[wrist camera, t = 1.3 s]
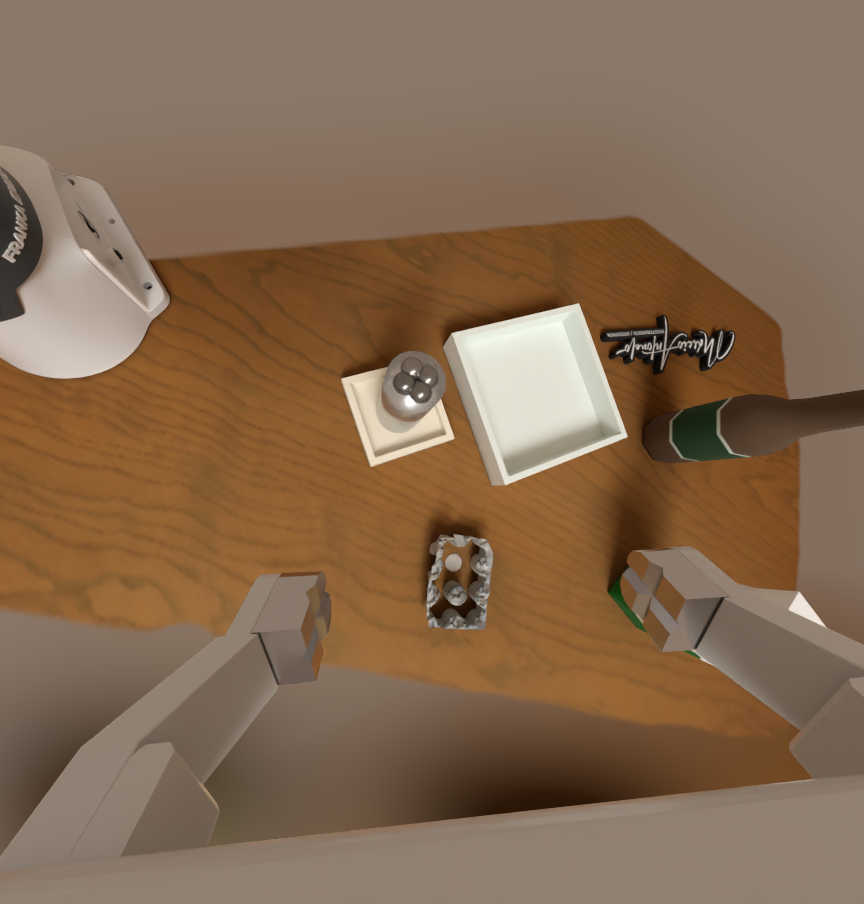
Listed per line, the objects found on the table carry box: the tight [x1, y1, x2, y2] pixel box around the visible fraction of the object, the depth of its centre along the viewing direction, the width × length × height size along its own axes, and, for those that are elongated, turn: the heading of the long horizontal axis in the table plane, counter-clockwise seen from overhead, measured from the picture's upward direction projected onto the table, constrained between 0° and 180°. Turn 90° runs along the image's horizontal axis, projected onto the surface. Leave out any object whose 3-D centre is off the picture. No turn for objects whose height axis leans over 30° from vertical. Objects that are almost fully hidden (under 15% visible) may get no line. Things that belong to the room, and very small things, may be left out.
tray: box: [341, 367, 455, 467], centre depth 40 cm, size 11×11×2 cm
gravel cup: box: [376, 351, 446, 433], centre depth 34 cm, size 6×6×13 cm
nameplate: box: [600, 314, 735, 375], centre depth 53 cm, size 28×2×10 cm
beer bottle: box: [643, 390, 864, 463], centre depth 39 cm, size 8×8×24 cm
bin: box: [443, 304, 628, 485], centre depth 44 cm, size 20×20×4 cm
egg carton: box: [425, 534, 493, 630], centre depth 38 cm, size 11×8×4 cm
